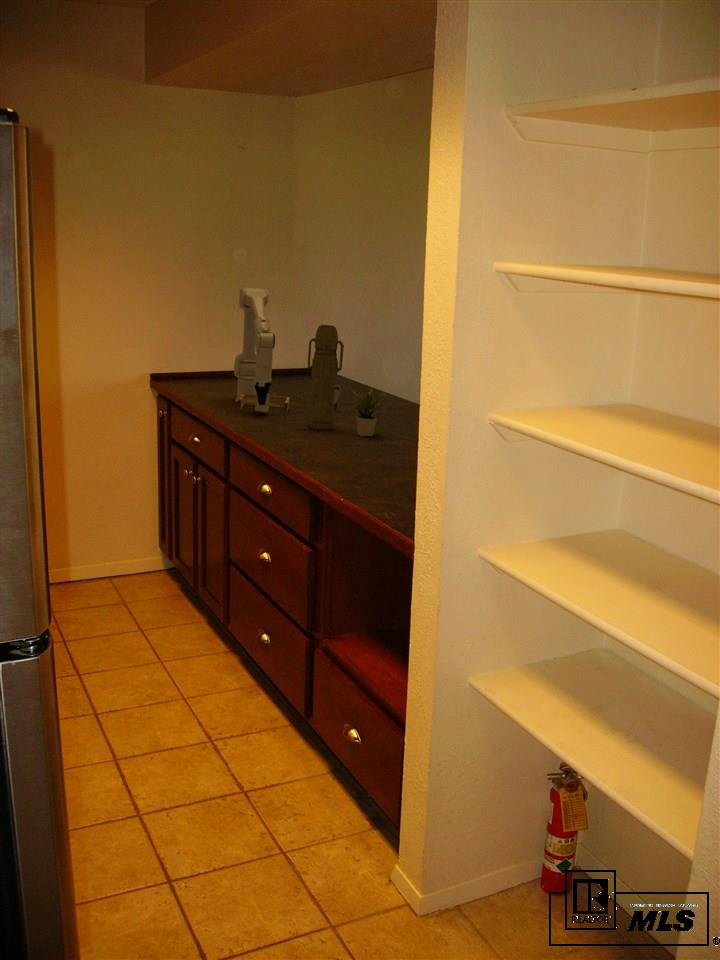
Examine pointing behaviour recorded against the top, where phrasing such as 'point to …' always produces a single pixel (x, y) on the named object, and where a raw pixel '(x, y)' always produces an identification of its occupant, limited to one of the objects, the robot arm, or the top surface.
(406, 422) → the top surface
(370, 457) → the top surface
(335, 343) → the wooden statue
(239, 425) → the top surface
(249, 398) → the open crate
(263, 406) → the sage block
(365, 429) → the house plant
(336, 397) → the food container
